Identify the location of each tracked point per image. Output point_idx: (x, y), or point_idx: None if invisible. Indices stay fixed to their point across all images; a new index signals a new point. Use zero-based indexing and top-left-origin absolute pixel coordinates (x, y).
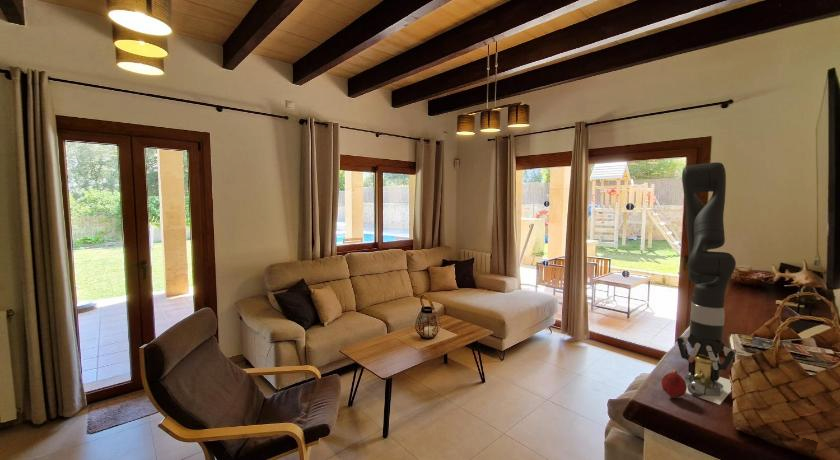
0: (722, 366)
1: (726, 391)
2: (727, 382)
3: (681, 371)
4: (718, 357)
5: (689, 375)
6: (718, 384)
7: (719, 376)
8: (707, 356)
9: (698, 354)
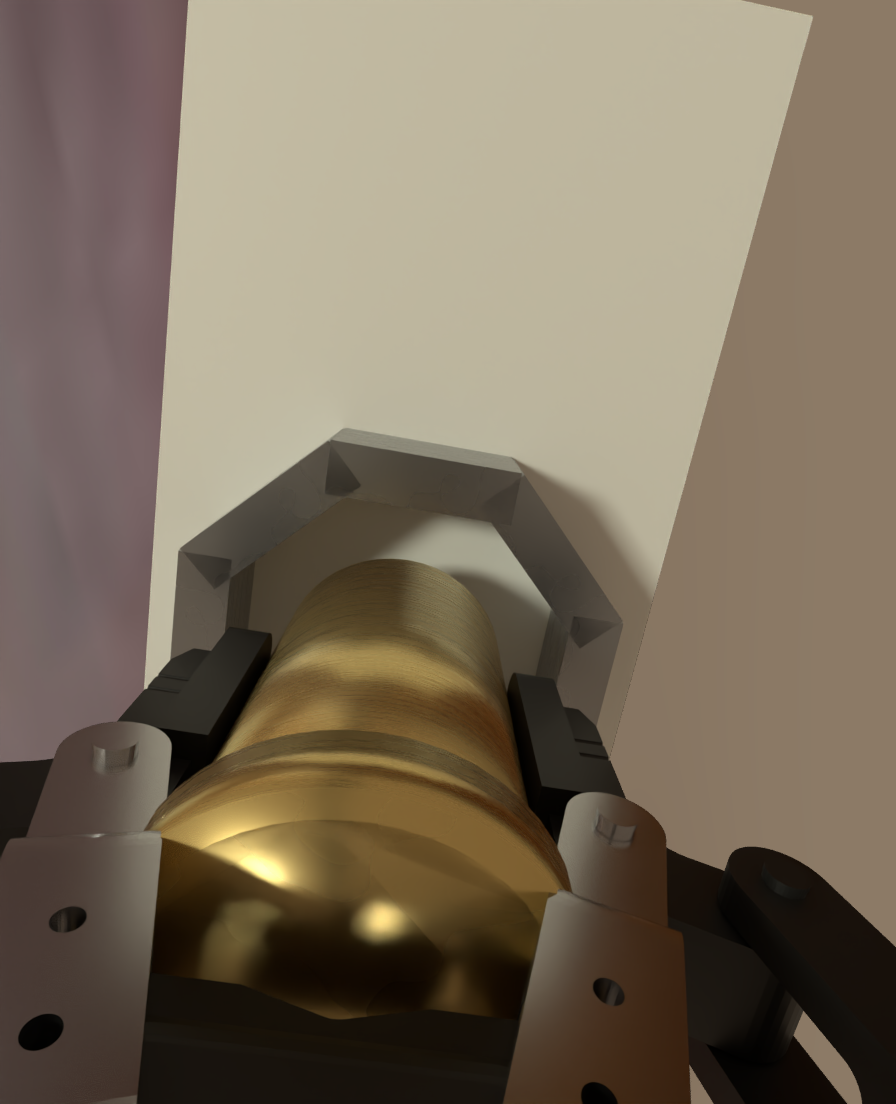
0: (704, 1062)
1: (637, 531)
2: (667, 163)
3: (61, 48)
4: (673, 972)
5: (208, 572)
6: (566, 628)
7: (600, 749)
8: (395, 944)
9: (169, 944)
